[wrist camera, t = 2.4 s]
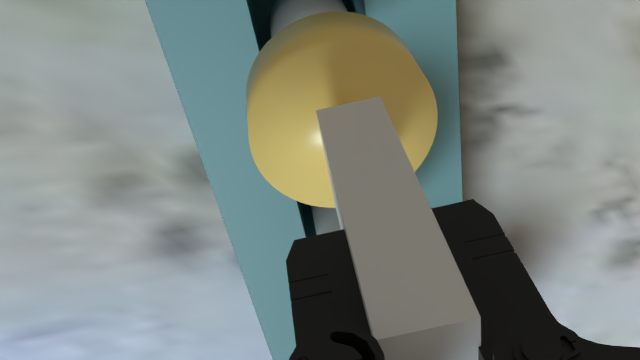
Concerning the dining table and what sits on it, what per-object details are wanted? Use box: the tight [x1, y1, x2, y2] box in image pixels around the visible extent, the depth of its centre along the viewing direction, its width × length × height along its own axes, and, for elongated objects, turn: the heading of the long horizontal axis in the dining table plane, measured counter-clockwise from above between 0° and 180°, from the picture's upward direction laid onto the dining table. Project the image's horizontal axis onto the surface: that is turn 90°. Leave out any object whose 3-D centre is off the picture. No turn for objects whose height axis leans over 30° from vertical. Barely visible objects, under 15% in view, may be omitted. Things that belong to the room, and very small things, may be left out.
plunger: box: [246, 0, 438, 208], centre depth 18 cm, size 5×5×8 cm
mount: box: [145, 0, 463, 360], centre depth 27 cm, size 10×26×6 cm, turn 10°
